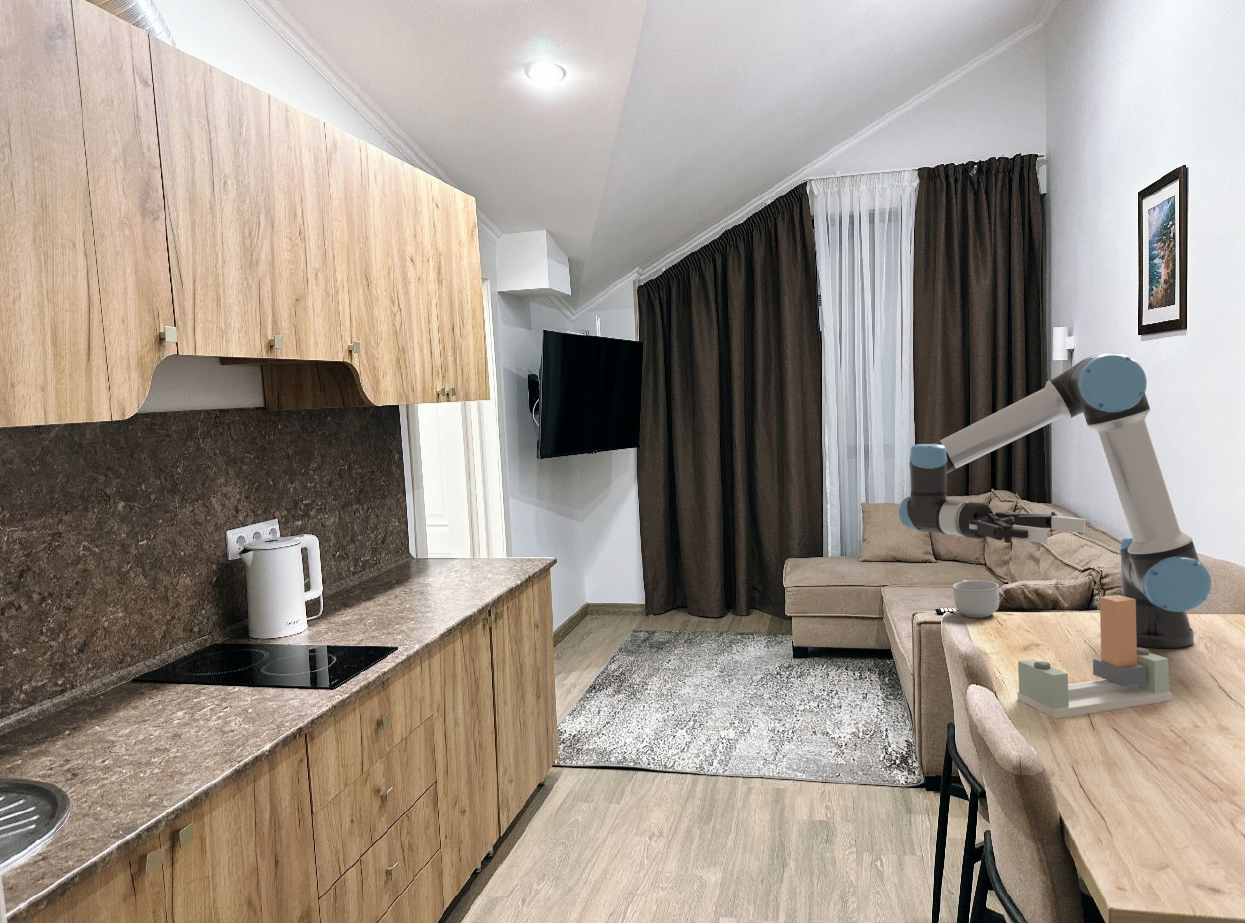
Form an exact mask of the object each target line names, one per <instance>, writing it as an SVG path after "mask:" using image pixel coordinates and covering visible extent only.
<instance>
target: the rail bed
mask: <svg viewBox="0 0 1245 923" xmlns="http://www.w3.org/2000/svg"><path fill="white" fill-rule="evenodd" d="M1016 694H1017V701H1019V700H1020V701H1019V702H1021V701H1022V702H1021V703H1023V702H1024V703H1023V704H1025V703H1026V704H1025V705H1027V704H1028V705H1027V706H1029V705H1030V706H1029V707H1031V706H1032V708H1033V707H1034V708H1033V709H1035V708H1036V710H1037V709H1039V710H1040V712H1041V711H1042V713H1043V712H1044V714H1046V715H1048V716H1049V717H1052V718H1053V719H1056V720H1057V719H1064V718H1067V717H1074V716H1075V717H1076V716H1080V715H1081V716H1082V715H1087V714H1094V713H1100V712H1101V713H1102V712H1106V711H1113V710H1119V708H1120V709H1125V708H1131V707H1132V706H1133V707H1138V706H1143V705H1144V706H1145V705H1150V704H1158V703H1164V702H1169V701H1172V692H1171V691H1170V690H1169V691H1168V692H1162V693H1152V692H1150V691H1147V690H1144V689H1142V688H1139V684H1134V685H1127V686H1121V685H1119V684H1116V683H1113V682H1111V681H1108V680H1106V679H1103V678H1101V679H1096V680H1089V681H1084V682H1083V681H1082V682H1074V683H1068V702H1069V707H1065V708H1059V709H1052V708H1050V707H1048V706H1046V705H1044V704H1042V703H1040V702H1037V701H1035V700H1033V699H1031V698H1029V697H1027V696H1025V695H1023V694H1021V693H1019V691H1017V693H1016ZM1133 707H1132V708H1133ZM1039 710H1038V711H1039Z"/></svg>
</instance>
